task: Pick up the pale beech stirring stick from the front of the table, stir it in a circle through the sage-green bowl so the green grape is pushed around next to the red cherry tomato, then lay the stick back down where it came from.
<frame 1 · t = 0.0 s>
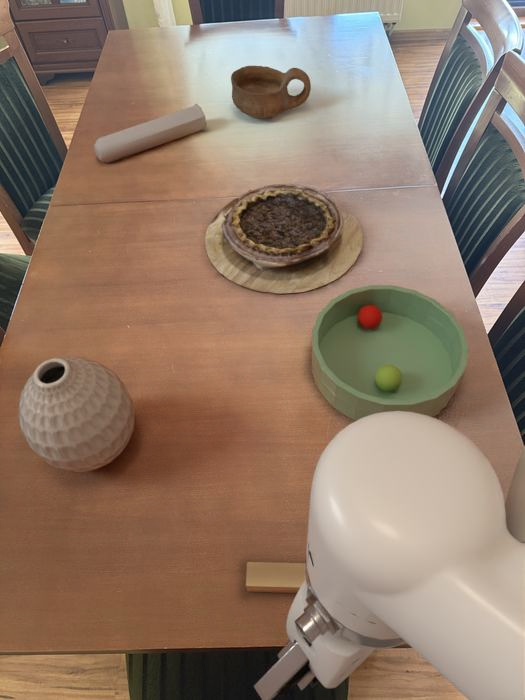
hand: (346, 624, 42), 13 cm above the table, tool pointing down, fingers open, 9 cm apart
vase: (98, 444, 68), on the table
grape: (388, 378, 69), point 3 cm above the table, touching mixing bowl
stick: (301, 580, 56), on the table
tomato: (369, 317, 76), point 3 cm above the table, touching mixing bowl
mixing bowl: (382, 365, 74), on the table
tube: (152, 145, 113), on the table
pie: (281, 239, 92), on the table
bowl: (271, 110, 120), on the table
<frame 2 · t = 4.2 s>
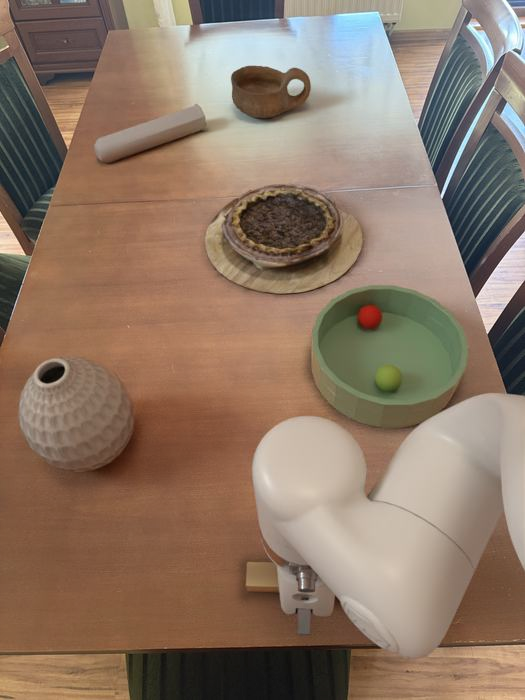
hand: (301, 579, 56), 0 cm above the table, tool pointing down, fingers closed on stick, 2 cm apart
stick: (301, 580, 56), on the table, touching gripper
everything else where it was.
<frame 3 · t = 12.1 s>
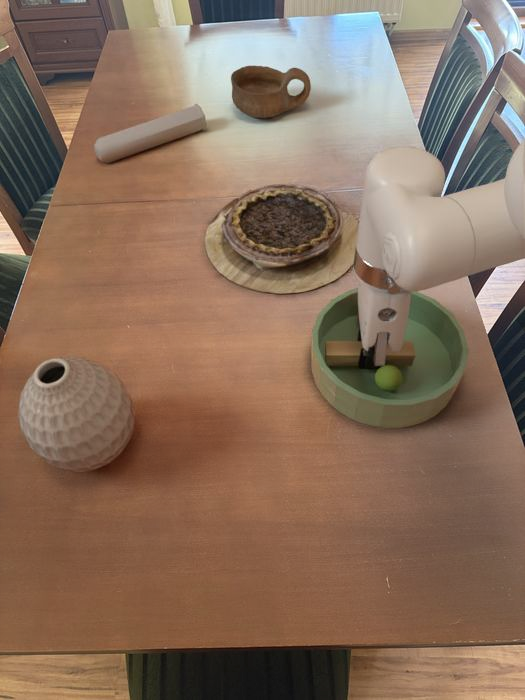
hand: (368, 357, 72), 2 cm above the table, tool pointing down, fingers closed on stick, 2 cm apart
grape: (388, 378, 69), point 3 cm above the table, touching gripper, mixing bowl
stick: (367, 358, 72), point 2 cm above the table, touching gripper
everything else where it was.
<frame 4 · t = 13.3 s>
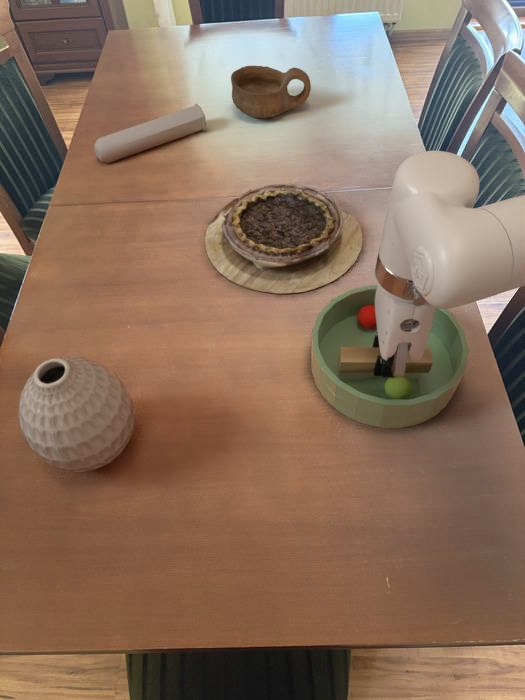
hand: (384, 363, 69), 4 cm above the table, tool pointing down, fingers closed on stick, 2 cm apart
grape: (398, 387, 68), point 3 cm above the table, tilted 51°, touching gripper, mixing bowl
stick: (383, 365, 70), point 3 cm above the table, touching gripper
everything else where it was.
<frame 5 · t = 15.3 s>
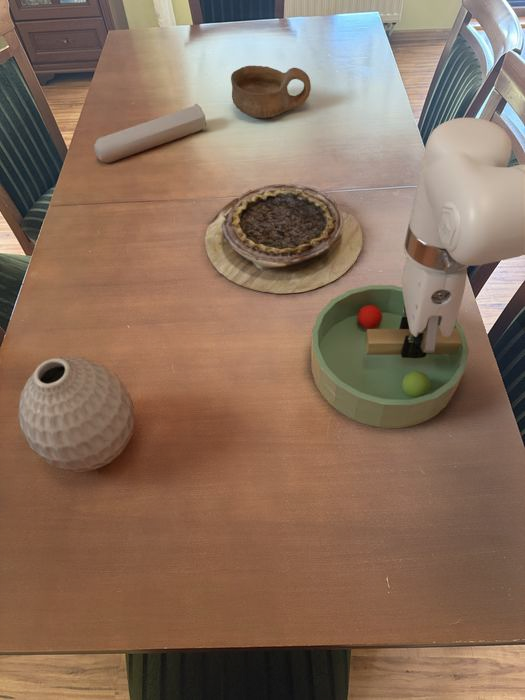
hand: (411, 345, 69), 5 cm above the table, tool pointing down, fingers closed on stick, 2 cm apart
grape: (416, 384, 68), point 3 cm above the table, tilted 90°, touching mixing bowl
stick: (410, 347, 70), point 5 cm above the table, touching gripper
everything else where it was.
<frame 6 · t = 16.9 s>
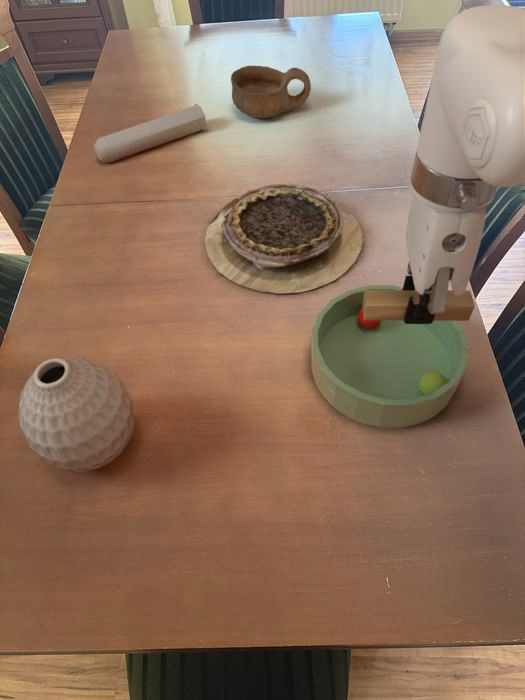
hand: (415, 310, 60), 15 cm above the table, tool pointing down, fingers closed on stick, 2 cm apart
grape: (432, 385, 68), point 3 cm above the table, tilted 146°, touching mixing bowl
stick: (414, 312, 60), point 15 cm above the table, touching gripper
everything else where it was.
when the fingers open (0 cm above the table, at t = 20.4 s): stick stays where it is, on the table.
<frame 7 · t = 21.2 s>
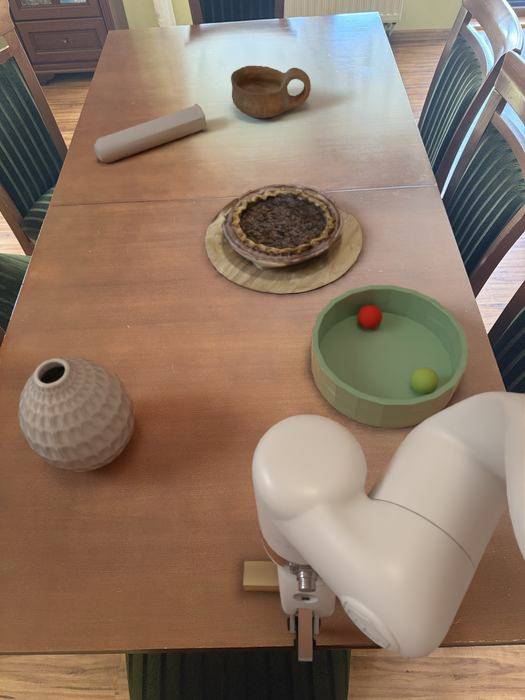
hand: (302, 577, 55), 2 cm above the table, tool pointing down, fingers open, 9 cm apart
grape: (424, 380, 69), point 3 cm above the table, tilted 108°, touching mixing bowl
stick: (299, 580, 57), on the table
everything else where it was.
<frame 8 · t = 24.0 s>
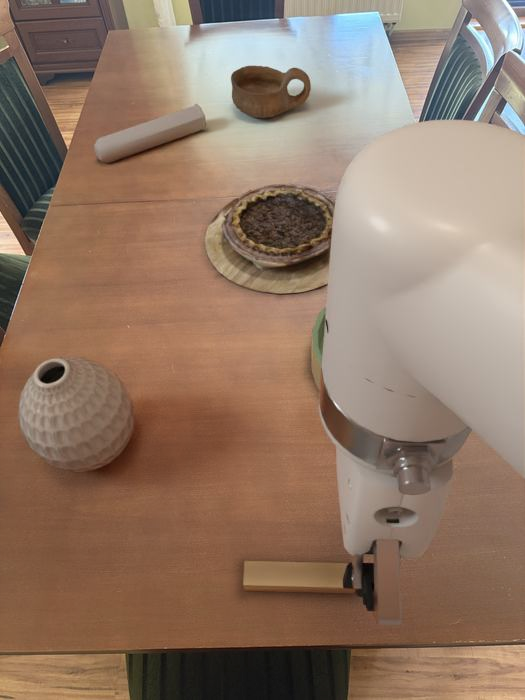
hand: (359, 515, 38), 22 cm above the table, tool pointing down, fingers open, 9 cm apart
grape: (419, 377, 69), point 3 cm above the table, tilted 84°, touching mixing bowl
everything else where it was.
at the end: grape moved 4.1 cm from its start; tomato inside the target area in the mixing bowl (7.2 cm from its centre), point 2.6 cm above the mixing bowl's base; stick inside the target area (0.3 cm from its centre), on the table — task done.
